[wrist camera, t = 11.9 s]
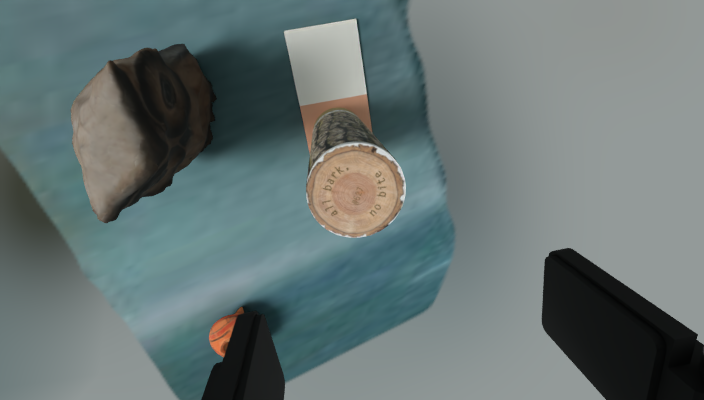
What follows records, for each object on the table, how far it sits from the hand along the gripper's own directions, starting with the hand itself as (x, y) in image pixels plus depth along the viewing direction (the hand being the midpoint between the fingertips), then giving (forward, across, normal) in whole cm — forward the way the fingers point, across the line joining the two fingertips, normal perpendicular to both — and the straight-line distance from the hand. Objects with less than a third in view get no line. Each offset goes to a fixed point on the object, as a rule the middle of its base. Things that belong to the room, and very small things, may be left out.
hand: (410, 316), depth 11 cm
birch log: (+38, 0, 0) cm, 38 cm away
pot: (+38, +21, +28) cm, 52 cm away
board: (+38, 0, -9) cm, 39 cm away
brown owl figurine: (+38, +20, -7) cm, 44 cm away
